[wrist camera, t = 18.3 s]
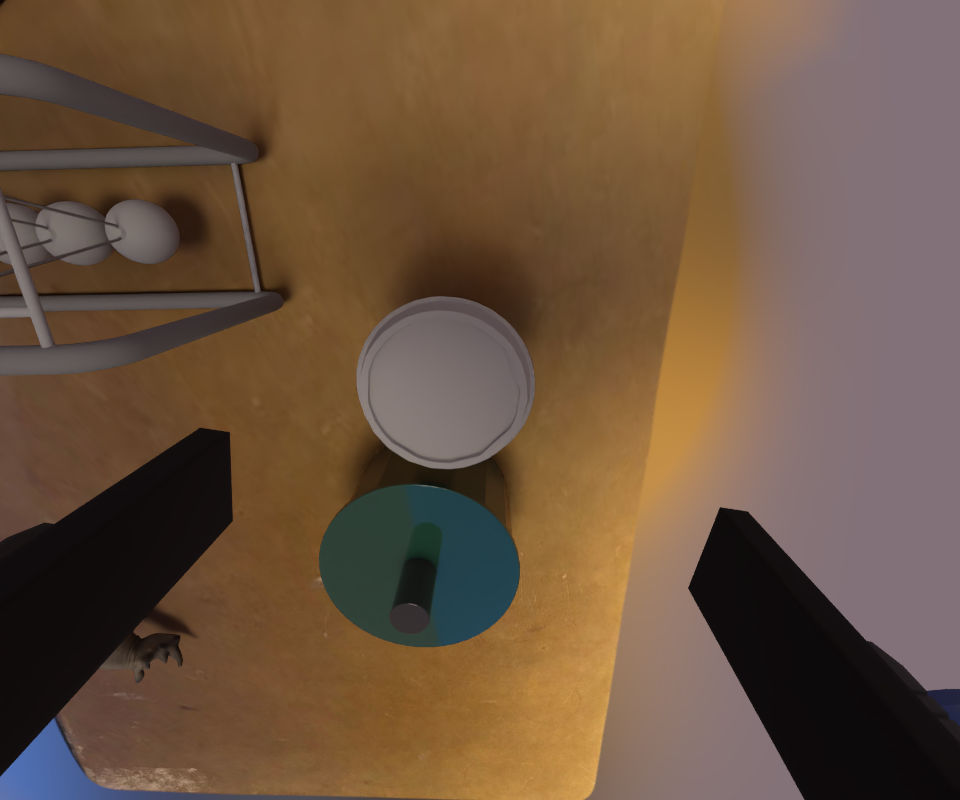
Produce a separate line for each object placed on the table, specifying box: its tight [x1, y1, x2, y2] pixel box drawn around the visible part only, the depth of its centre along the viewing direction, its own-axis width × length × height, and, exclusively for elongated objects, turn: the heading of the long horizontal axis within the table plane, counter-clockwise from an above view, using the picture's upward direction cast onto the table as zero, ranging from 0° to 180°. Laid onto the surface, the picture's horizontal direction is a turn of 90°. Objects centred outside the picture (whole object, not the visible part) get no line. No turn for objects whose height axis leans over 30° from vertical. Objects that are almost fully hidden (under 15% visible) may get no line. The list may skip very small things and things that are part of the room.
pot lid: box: [319, 481, 520, 647], centre depth 30 cm, size 14×14×5 cm
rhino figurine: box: [99, 630, 183, 684], centre depth 41 cm, size 4×14×6 cm, turn 50°
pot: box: [349, 446, 512, 535], centre depth 35 cm, size 13×13×8 cm
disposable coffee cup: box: [357, 296, 535, 469], centre depth 29 cm, size 10×10×12 cm
